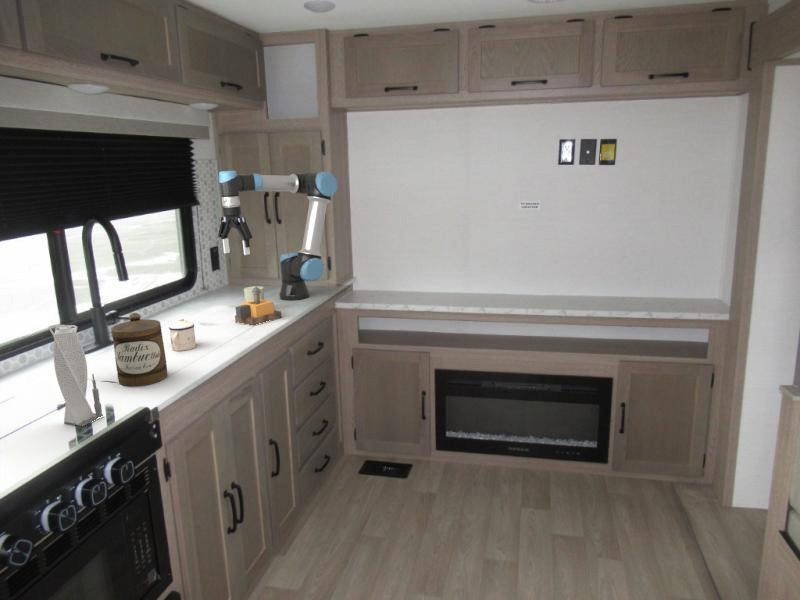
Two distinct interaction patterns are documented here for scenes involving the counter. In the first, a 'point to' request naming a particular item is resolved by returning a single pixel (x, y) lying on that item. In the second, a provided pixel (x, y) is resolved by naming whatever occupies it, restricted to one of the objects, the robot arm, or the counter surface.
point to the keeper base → (260, 319)
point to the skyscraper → (73, 376)
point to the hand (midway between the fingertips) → (236, 253)
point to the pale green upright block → (249, 294)
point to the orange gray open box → (254, 309)
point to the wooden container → (139, 351)
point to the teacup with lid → (182, 335)
